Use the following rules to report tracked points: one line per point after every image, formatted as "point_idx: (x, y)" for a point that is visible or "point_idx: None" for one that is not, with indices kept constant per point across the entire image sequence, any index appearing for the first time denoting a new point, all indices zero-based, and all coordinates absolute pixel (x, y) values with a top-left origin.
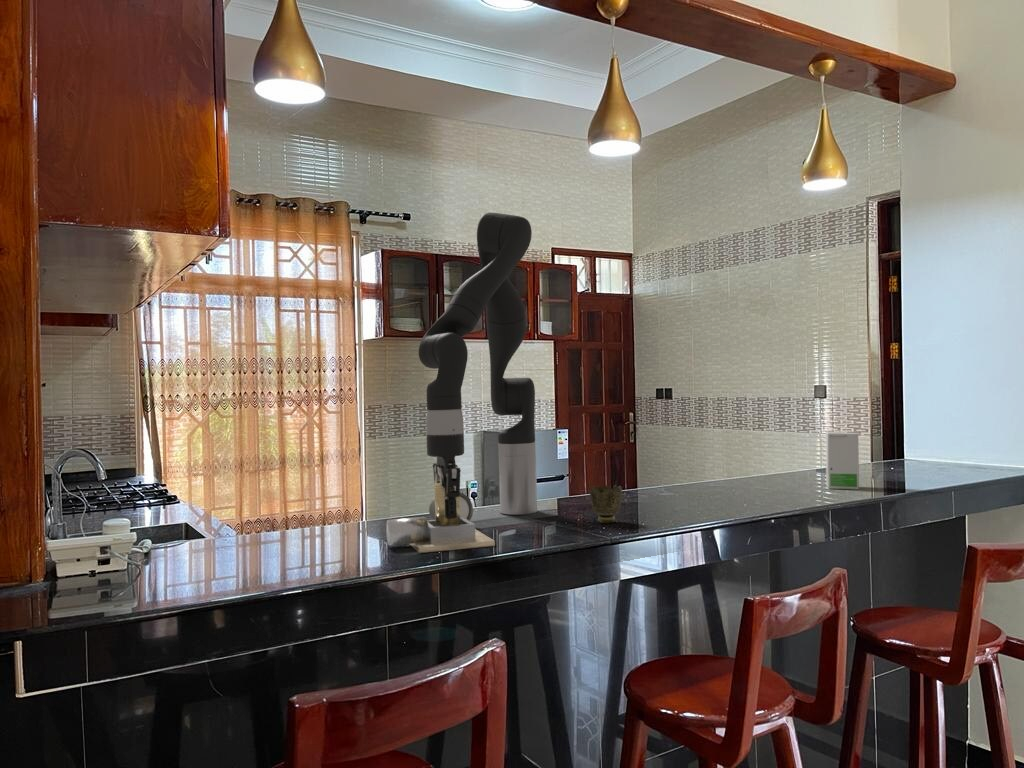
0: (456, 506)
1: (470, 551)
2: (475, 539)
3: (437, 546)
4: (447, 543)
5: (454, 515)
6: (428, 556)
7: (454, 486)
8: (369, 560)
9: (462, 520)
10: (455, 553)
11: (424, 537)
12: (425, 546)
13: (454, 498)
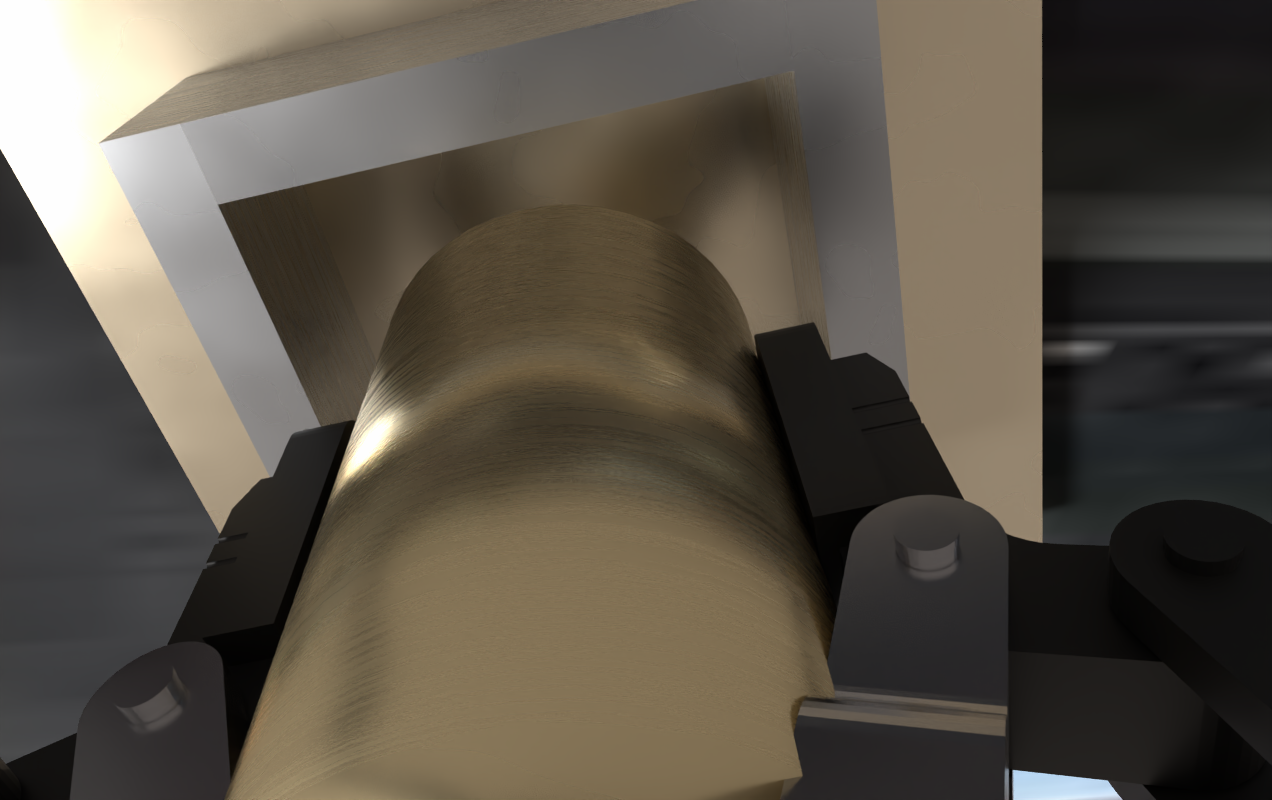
0: (749, 403)
1: (1202, 12)
2: None
3: (1041, 393)
4: (949, 297)
5: (872, 366)
6: (1206, 438)
7: (1008, 779)
8: (1109, 791)
9: (379, 165)
10: (1215, 191)
11: None
12: (1009, 499)
13: (1036, 558)
